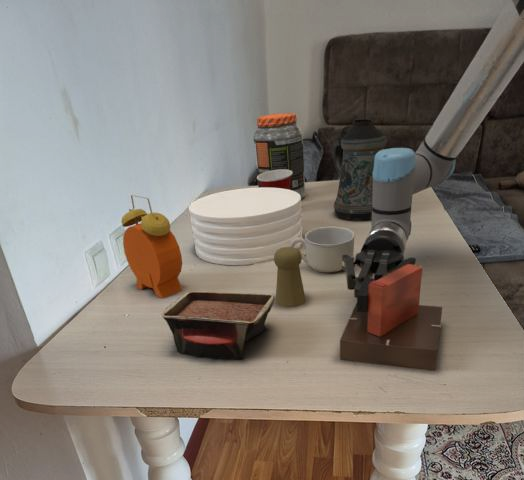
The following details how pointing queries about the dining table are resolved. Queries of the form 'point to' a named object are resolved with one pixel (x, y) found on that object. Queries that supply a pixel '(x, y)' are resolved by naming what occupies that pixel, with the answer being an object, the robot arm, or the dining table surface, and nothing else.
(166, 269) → the alarm clock
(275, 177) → the plastic cup
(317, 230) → the teacup
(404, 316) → the orange-red rectangular block
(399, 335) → the brown square platform
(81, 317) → the dining table surface
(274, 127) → the supplement tub
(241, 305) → the baking dish
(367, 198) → the beer stein
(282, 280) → the olive pepper shaker
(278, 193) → the plate stack
